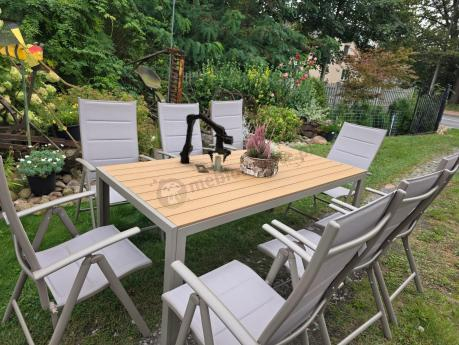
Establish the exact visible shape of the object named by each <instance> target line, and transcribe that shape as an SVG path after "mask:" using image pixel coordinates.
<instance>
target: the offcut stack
mask: <svg viewBox="0 0 459 345" xmlns="http://www.w3.org/2000/svg"><path fill="white" fill-rule="evenodd" d="M197 173H200V174H202V173H203V174H210V171H209V169H208V168H206V169H204V168H200V169H199V170H198V169H197Z"/></svg>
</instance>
